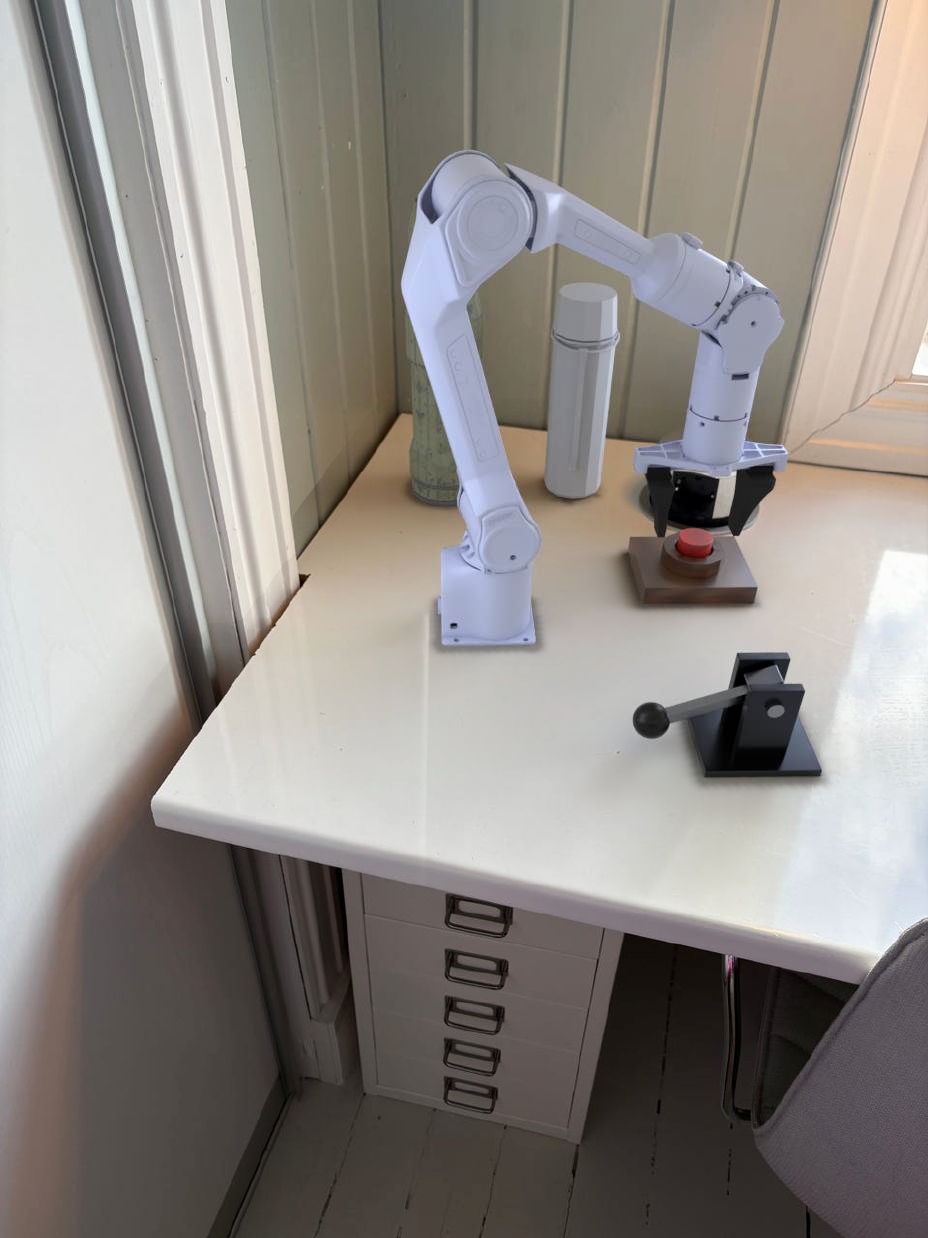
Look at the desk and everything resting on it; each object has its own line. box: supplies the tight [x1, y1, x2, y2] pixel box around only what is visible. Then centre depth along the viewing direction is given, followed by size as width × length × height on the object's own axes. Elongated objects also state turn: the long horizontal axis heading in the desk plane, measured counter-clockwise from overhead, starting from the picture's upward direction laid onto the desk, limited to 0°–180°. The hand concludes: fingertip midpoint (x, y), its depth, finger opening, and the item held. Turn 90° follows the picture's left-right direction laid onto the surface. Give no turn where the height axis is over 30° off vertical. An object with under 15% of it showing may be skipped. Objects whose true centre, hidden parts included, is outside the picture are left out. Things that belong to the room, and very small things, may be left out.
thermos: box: [404, 196, 484, 507], centre depth 108 cm, size 9×12×35 cm
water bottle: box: [543, 281, 621, 500], centre depth 110 cm, size 9×8×25 cm
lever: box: [631, 665, 785, 740], centre depth 80 cm, size 13×3×3 cm, turn 91°
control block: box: [627, 530, 759, 605], centre depth 102 cm, size 12×10×4 cm
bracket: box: [686, 651, 823, 779], centre depth 80 cm, size 10×8×9 cm
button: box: [677, 527, 713, 558], centre depth 100 cm, size 4×4×2 cm
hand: (696, 531), depth 95 cm, fingers open, 7 cm apart
